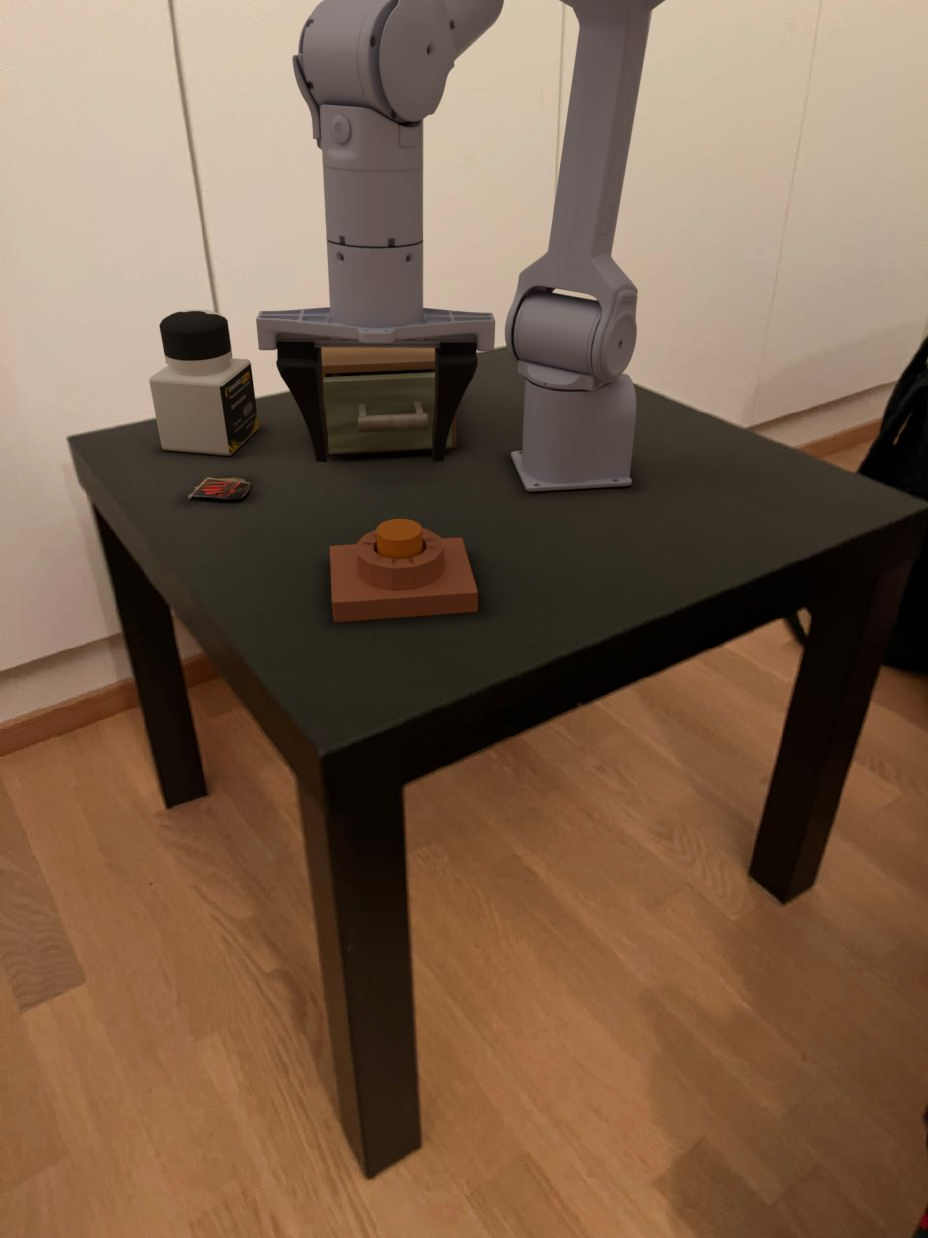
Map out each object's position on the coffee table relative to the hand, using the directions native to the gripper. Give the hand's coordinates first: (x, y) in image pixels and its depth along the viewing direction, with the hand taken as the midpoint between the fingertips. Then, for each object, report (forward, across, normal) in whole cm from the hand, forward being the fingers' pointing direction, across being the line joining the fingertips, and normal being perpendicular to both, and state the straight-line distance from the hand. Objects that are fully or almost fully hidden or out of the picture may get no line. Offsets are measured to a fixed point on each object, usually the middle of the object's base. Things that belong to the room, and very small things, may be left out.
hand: (380, 456), depth 62 cm
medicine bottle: (+10, -17, +29) cm, 35 cm away
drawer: (+9, 0, +27) cm, 29 cm away
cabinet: (+9, 0, +32) cm, 33 cm away
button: (+7, +1, 0) cm, 7 cm away
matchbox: (+10, -14, +17) cm, 24 cm away
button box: (+10, +1, 0) cm, 10 cm away
